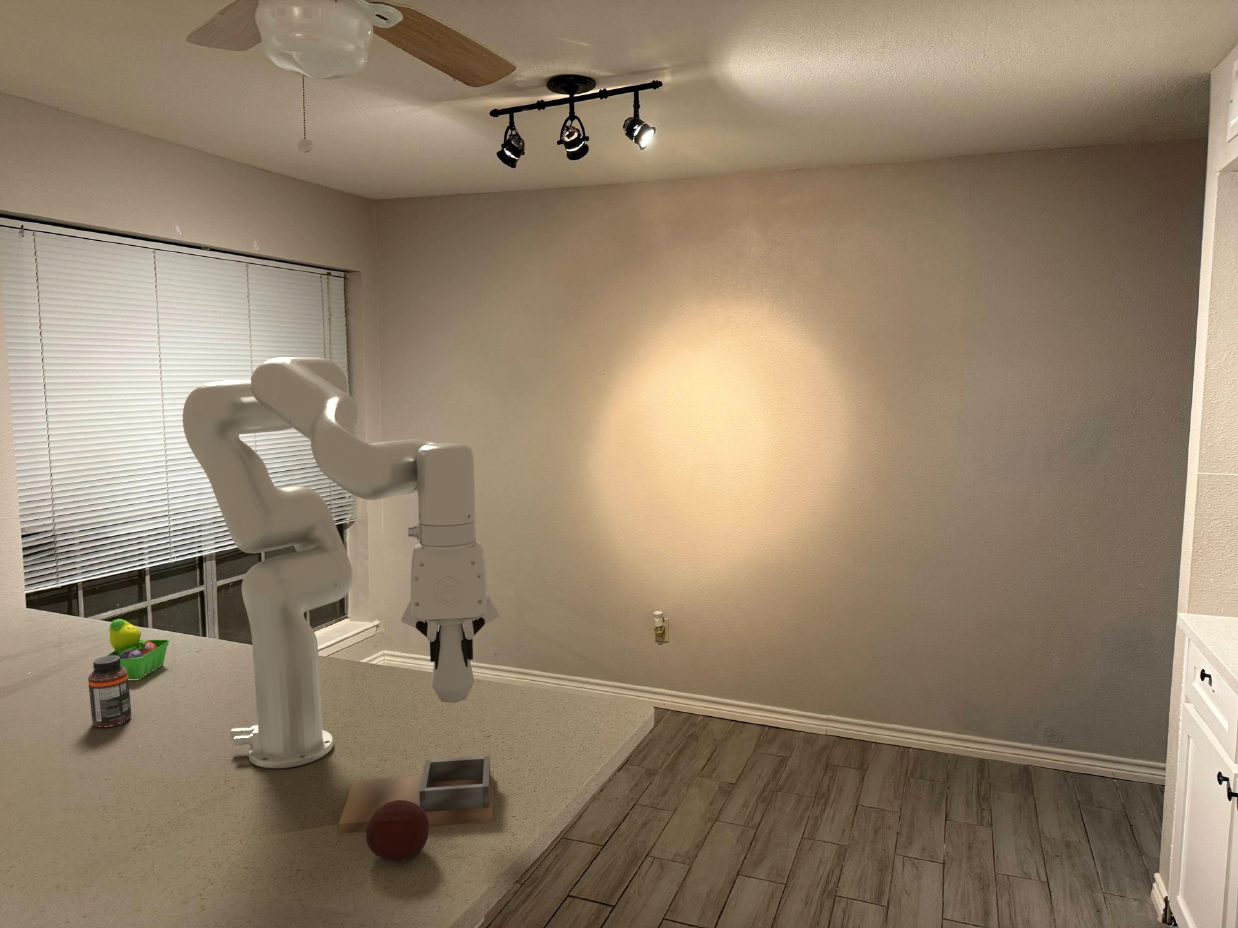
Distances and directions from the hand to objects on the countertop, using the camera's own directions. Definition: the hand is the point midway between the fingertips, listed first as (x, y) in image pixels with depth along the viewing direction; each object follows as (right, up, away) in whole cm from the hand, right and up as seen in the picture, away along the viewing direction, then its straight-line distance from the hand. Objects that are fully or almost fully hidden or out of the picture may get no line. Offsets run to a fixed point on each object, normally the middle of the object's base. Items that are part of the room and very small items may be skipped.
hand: (452, 664), depth 119 cm
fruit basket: (-74, -15, +55) cm, 93 cm away
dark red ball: (-5, -22, -11) cm, 25 cm away
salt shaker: (0, -5, 0) cm, 5 cm away
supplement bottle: (-65, -17, +31) cm, 74 cm away
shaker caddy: (-5, -20, +2) cm, 21 cm away
